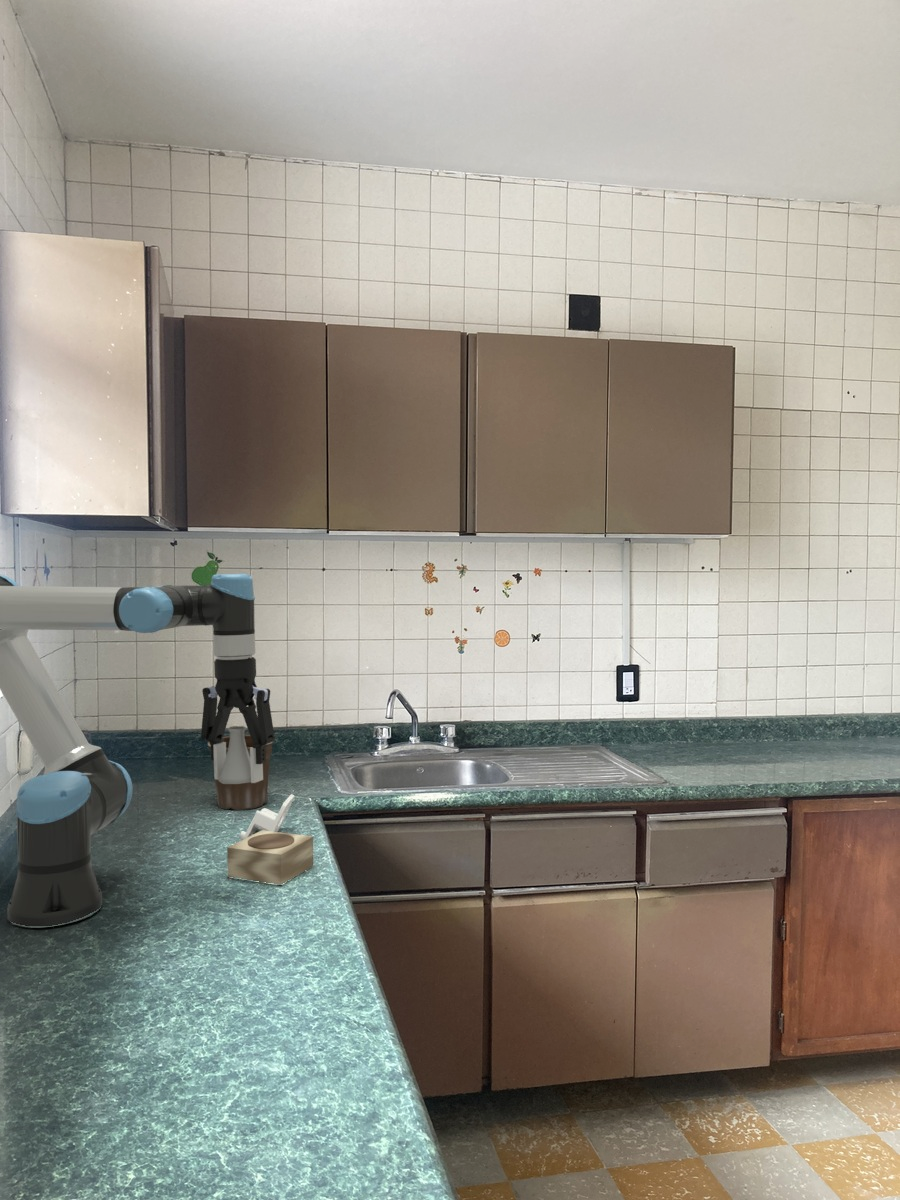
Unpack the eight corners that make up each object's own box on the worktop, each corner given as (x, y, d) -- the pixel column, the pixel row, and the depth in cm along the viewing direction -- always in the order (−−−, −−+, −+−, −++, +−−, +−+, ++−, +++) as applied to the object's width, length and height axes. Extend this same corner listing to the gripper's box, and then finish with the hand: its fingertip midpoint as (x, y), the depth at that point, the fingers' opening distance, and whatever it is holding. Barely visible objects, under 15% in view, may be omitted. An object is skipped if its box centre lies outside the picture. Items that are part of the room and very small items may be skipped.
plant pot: (225, 817, 214) (225, 750, 214) (197, 803, 227) (196, 740, 226) (286, 805, 225) (285, 741, 224) (256, 792, 237) (255, 732, 237)
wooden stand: (227, 878, 173) (227, 845, 173) (262, 858, 184) (261, 828, 184) (281, 886, 169) (281, 853, 168) (313, 866, 180) (313, 835, 180)
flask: (217, 786, 162) (215, 732, 162) (219, 777, 169) (217, 725, 169) (258, 784, 163) (256, 729, 163) (258, 775, 171) (256, 723, 170)
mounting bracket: (262, 853, 194) (282, 809, 193) (236, 841, 194) (256, 797, 193) (276, 836, 206) (295, 794, 205) (251, 825, 206) (270, 783, 205)
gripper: (293, 656, 165) (296, 779, 166) (203, 653, 173) (207, 771, 174) (269, 660, 158) (272, 788, 159) (177, 657, 166) (181, 779, 167)
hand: (238, 779), depth 166 cm, fingers closed on flask, 7 cm apart
